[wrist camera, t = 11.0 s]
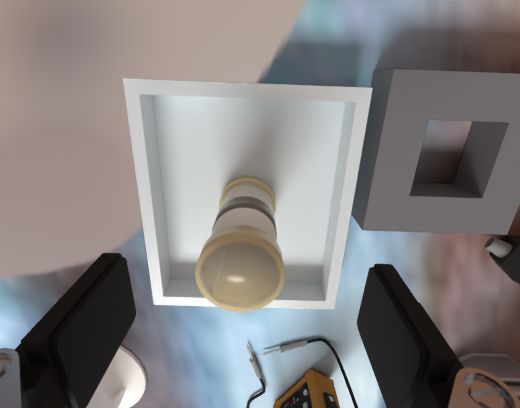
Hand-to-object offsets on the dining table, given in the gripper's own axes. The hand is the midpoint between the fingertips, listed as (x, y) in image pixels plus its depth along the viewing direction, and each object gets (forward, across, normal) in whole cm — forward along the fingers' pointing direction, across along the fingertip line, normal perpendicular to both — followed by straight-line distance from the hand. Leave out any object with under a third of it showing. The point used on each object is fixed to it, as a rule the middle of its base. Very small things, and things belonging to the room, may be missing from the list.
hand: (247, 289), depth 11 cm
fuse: (+11, +1, +1) cm, 11 cm away
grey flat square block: (+12, -12, -3) cm, 17 cm away
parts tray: (+11, +1, +1) cm, 11 cm away
